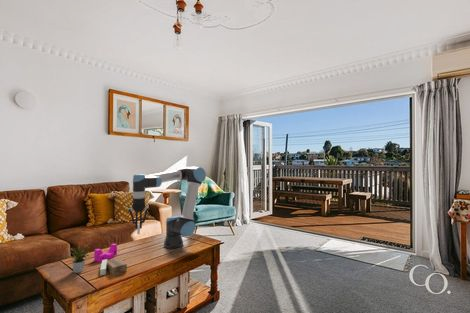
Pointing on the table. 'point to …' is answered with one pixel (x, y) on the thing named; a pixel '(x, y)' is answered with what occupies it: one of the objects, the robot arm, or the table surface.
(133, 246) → the table surface
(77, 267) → the house plant
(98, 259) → the magenta arch bracket
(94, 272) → the table surface
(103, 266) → the board
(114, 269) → the walnut block
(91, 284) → the table surface
